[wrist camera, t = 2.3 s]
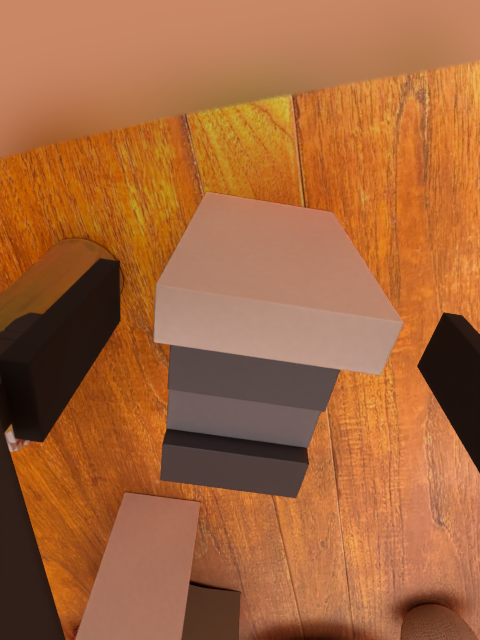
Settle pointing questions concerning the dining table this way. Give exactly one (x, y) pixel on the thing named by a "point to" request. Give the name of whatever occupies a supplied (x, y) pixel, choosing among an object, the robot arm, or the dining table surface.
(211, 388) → the grey books
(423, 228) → the dining table surface
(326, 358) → the white book
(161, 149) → the dining table surface
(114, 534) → the white books
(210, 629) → the book
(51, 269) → the vase
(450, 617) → the fruit
